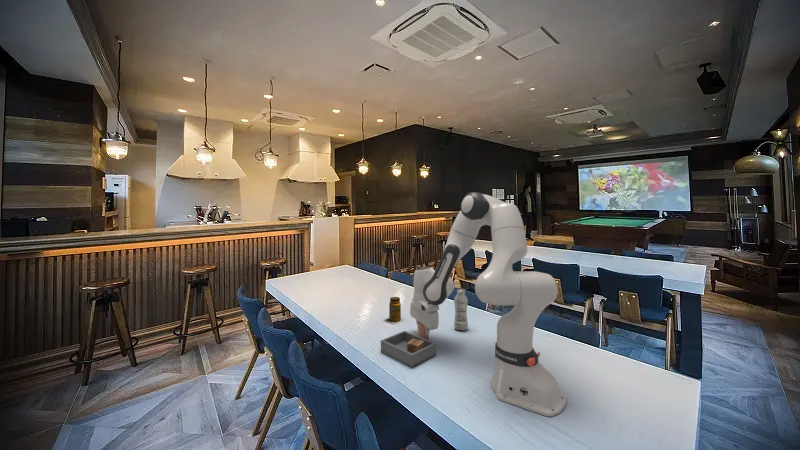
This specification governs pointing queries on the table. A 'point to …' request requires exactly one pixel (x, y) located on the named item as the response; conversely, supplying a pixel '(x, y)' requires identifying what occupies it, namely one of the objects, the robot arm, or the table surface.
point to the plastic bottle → (460, 310)
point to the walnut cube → (415, 345)
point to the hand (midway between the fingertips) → (423, 332)
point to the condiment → (394, 311)
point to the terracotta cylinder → (422, 331)
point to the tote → (398, 349)
